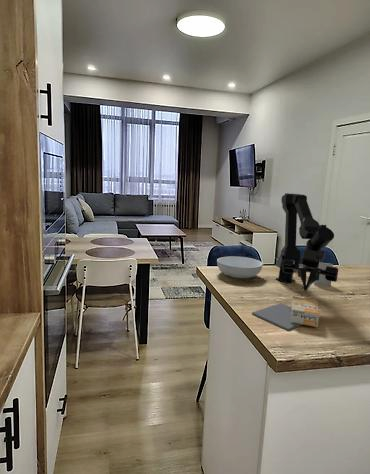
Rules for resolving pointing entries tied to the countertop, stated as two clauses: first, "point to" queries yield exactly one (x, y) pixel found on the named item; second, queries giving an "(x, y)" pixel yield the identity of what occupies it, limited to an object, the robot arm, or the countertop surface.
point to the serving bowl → (239, 266)
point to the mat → (277, 316)
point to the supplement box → (304, 311)
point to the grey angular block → (323, 276)
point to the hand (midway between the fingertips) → (305, 290)
